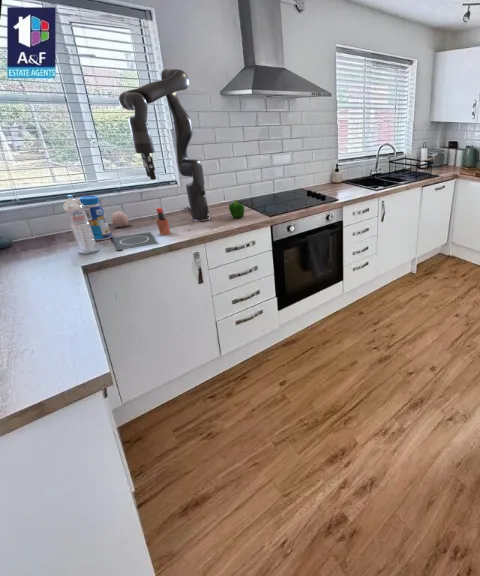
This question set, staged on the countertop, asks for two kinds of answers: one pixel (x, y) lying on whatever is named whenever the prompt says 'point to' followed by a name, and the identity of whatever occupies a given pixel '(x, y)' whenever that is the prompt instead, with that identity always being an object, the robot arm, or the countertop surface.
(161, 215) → the marker
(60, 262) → the countertop surface
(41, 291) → the countertop surface
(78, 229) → the water bottle
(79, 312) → the countertop surface
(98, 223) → the blue lidded canister
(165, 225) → the pen pot
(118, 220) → the egg
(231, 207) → the bell pepper
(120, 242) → the slate board
